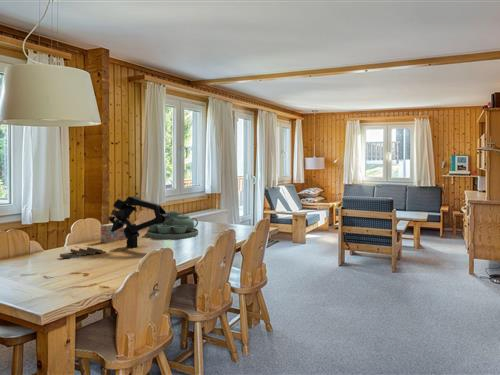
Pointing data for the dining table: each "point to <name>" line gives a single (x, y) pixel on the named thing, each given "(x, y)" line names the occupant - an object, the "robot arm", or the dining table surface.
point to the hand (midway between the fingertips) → (111, 231)
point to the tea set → (174, 227)
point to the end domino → (76, 256)
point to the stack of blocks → (111, 234)
